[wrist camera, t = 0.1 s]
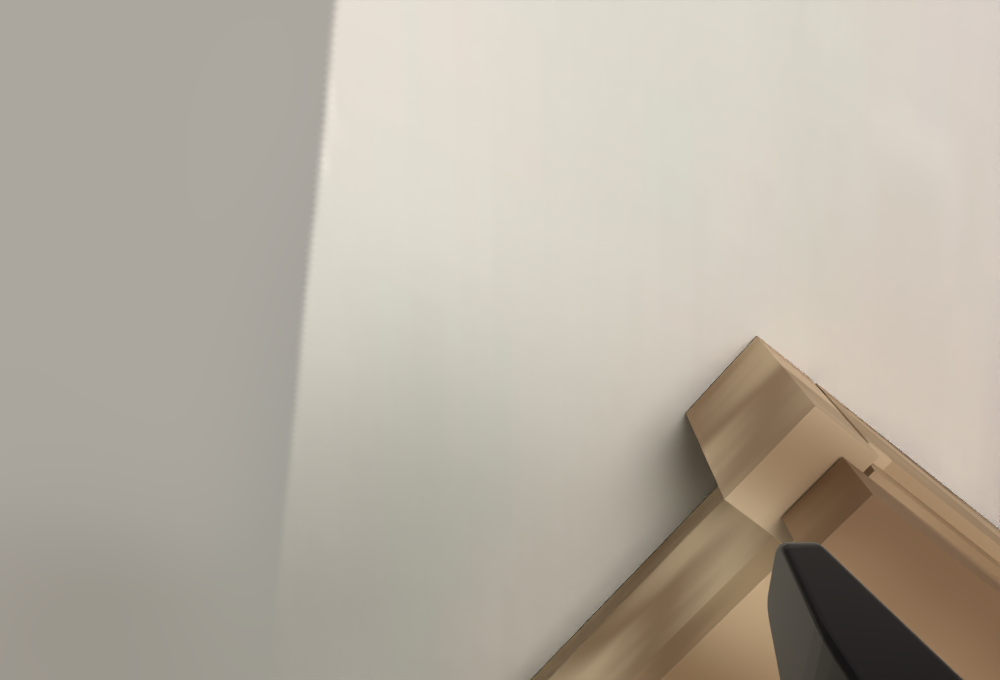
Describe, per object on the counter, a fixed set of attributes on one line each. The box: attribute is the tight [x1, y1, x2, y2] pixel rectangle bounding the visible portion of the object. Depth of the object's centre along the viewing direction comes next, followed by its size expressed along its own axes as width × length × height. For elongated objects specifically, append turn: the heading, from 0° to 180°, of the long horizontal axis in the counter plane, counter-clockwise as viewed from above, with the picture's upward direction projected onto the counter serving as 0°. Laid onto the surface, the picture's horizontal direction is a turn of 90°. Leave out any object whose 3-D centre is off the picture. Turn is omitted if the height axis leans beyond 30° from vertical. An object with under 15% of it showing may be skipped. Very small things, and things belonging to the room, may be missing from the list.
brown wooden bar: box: [782, 457, 1000, 680], centre depth 20 cm, size 2×11×2 cm, turn 52°
